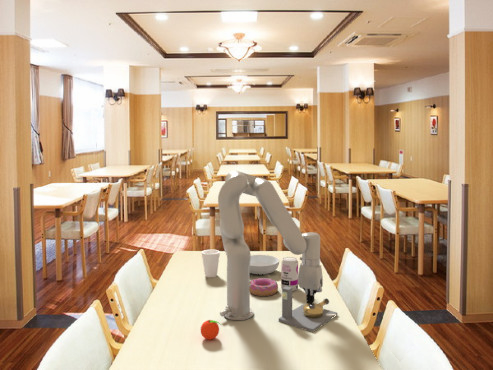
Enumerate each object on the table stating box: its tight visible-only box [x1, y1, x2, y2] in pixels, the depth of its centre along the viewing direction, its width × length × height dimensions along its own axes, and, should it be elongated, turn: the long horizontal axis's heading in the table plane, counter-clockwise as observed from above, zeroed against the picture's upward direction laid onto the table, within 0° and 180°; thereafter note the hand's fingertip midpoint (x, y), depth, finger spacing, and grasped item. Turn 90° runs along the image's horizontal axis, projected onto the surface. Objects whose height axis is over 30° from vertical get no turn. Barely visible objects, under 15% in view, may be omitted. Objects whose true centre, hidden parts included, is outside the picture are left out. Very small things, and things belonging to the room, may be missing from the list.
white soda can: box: [280, 256, 299, 292], centre depth 218 cm, size 8×8×15 cm
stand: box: [278, 286, 338, 332], centre depth 183 cm, size 20×17×13 cm
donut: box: [250, 277, 279, 297], centre depth 215 cm, size 14×14×5 cm
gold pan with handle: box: [303, 298, 330, 318], centre depth 188 cm, size 16×8×4 cm, turn 141°
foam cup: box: [201, 249, 221, 278], centre depth 238 cm, size 10×9×13 cm
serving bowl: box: [250, 254, 280, 276], centre depth 244 cm, size 21×21×7 cm
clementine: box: [200, 319, 222, 341], centre depth 166 cm, size 8×7×7 cm
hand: (310, 302), depth 193 cm, fingers closed
